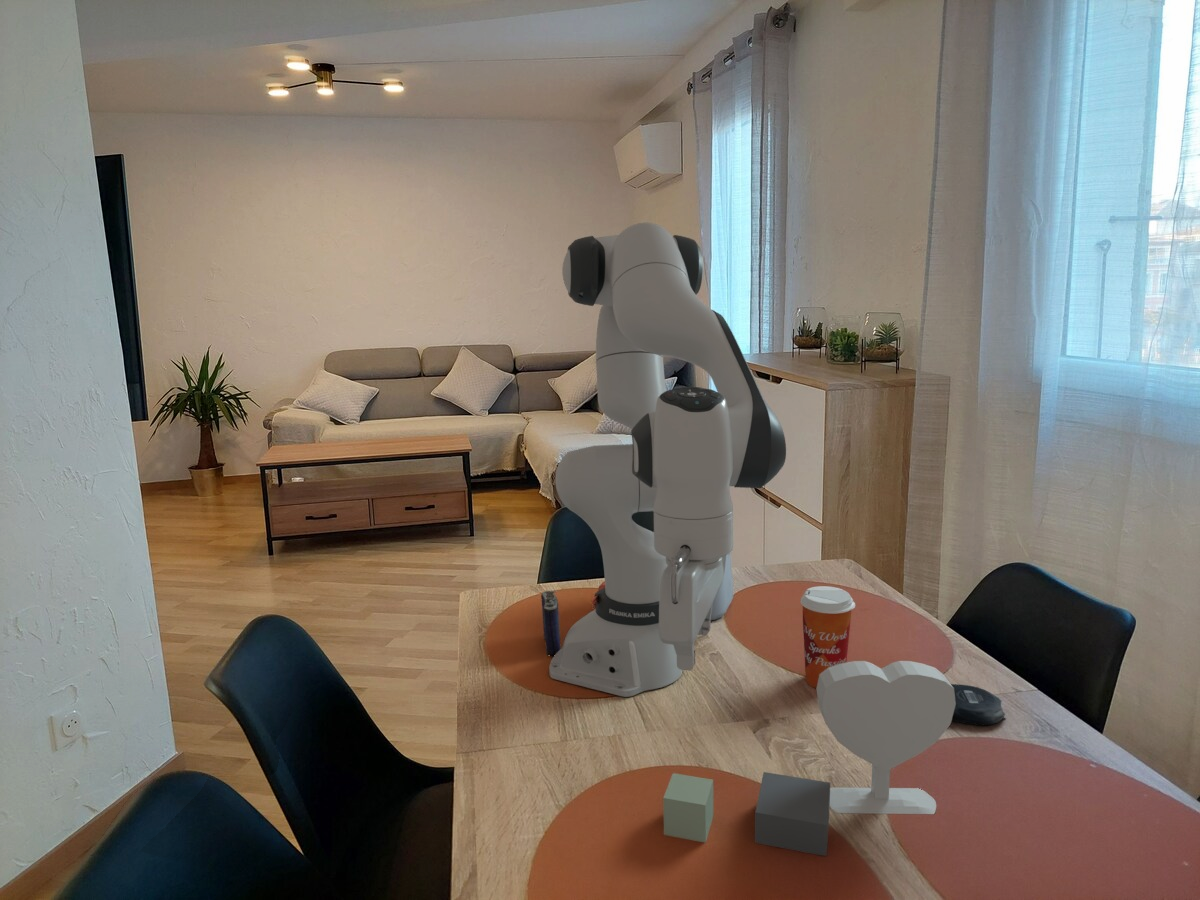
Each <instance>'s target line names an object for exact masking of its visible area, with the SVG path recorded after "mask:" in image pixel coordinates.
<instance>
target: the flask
mask: <svg viewBox="0 0 1200 900" xmlns="http://www.w3.org/2000/svg"><path fill="white" fill-rule="evenodd" d="M556 592H557V590H556V589H554V590H547V589H546V590H544V591H543V592H541V595H540V596H541V597H540V599H541V611H542V612H541V613H542V626H543V627H542V628H543V630H542V631H543V641H544V642H545V641H546V646H545V647H546V648H545V649H546V650H545V651H546V656H547V655H550V656H554V655H555V654H556V653H557V652H558V651H559V650H560V649H561V648H562V645H561V646H560V644H561V633H560V630H561V629H560V616H559V615H560V614H559V613H560V612H559V601H558V600H559V599H558V597H557V596H556V594H555V593H556Z"/></svg>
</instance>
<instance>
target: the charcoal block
mask: <svg viewBox="0 0 1200 900" xmlns="http://www.w3.org/2000/svg"><path fill="white" fill-rule="evenodd" d="M761 777H762V778H761V781H760V782H761V783H760V787H759V788H760V789H759V792H758V797H757V802H756V806H755V807H756V808H755V811H754V814H755V815H754V822H755V823H754V843H755V844H760V845H764V846H771V847H776V848H781V849H787V850H791V851H798V852H802V853H808V854H813V855H817V856H824V857H827V854H828V853H827V852H828V839H829V837H828V836H829V823H830V822H829V821H830V809H831V807H830V788H831V782H830V781H829V782H828V781H823V780H817V779H816V780H815V779H811V778H810V779H809V778H803V777H797V776H792V775H791V776H790V775H785V774H778V773H772V772H766V771H763V774H762V776H761Z"/></svg>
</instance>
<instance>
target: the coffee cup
mask: <svg viewBox="0 0 1200 900" xmlns="http://www.w3.org/2000/svg"><path fill="white" fill-rule="evenodd" d="M800 604H801V605H802V627H803V628H802V629H803V630H802V631H803V651H804V652H803V653H804V670H805V682H806V684H808V685H809V686H810V687H812V688H814V689H817V684H818V679H819V674H821V673H822V672H823V671H824V670H826V669H827V668H829V667H832V666H835V665H838V664H842V663H847V662H848V661H847V660H848V652H849V649H848V648H849V641H850V640H849V639H850V630H851V620H852V619H851V618H852V612H853V611H852V610H853V609H855V608H856V602H855V601H854V599H853V598H852V596H851V595H850V593H849V592H848V591H846V590H844V589H842V588H839V587H834V586H826V585H825V586H819V585H818V586H812V587H809V588H807V589H805V591H804V593H803V595H802V597H801V598H800Z"/></svg>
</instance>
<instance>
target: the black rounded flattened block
mask: <svg viewBox="0 0 1200 900" xmlns="http://www.w3.org/2000/svg"><path fill="white" fill-rule="evenodd" d="M950 684H951V685H952V687H953V688H954V693H955V702H956V705H955V709H954V713H953V717H952V722H958V723H962V724H966V725H977V726H979V727H981V726H982V727H983V726H991V725H995V724H997V723H999V722H1000V721H1001V720H1002V719H1003V718H1004V717H1005V716H1006V714H1005V712H1004V710H1003V707H1002V702H1003V700H1002V699H1001V698H1000V697H998V696H996V695H995V694H993V693H991V692H990V691H988V690H986V689H984V688H980V687H978V686H973V685H967V684H957V683H955V684H953V683H950Z"/></svg>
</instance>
